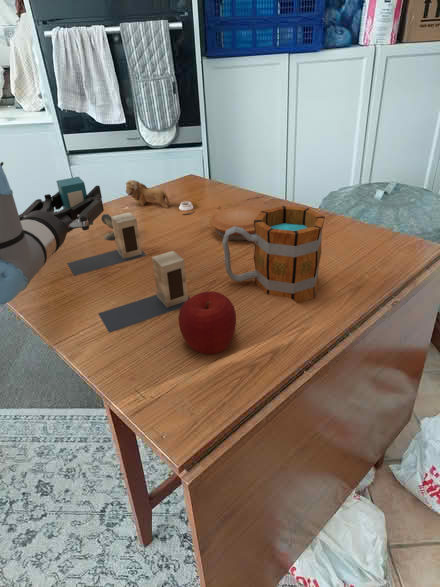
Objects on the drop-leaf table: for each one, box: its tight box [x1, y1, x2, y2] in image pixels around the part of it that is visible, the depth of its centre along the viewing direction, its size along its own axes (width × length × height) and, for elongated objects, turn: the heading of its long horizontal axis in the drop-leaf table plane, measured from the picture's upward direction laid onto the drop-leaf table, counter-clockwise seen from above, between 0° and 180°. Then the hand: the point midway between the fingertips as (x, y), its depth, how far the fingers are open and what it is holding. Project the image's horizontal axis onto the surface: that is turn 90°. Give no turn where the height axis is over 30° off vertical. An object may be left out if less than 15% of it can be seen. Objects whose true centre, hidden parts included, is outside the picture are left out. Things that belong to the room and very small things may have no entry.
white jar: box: [178, 200, 196, 216], centre depth 124 cm, size 5×3×5 cm
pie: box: [209, 206, 262, 242], centre depth 111 cm, size 15×16×5 cm
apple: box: [177, 291, 237, 355], centre depth 71 cm, size 10×10×10 cm
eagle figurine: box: [101, 213, 116, 241], centre depth 110 cm, size 8×7×9 cm
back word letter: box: [111, 211, 143, 259], centre depth 99 cm, size 5×4×9 cm
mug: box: [221, 205, 326, 304], centre depth 85 cm, size 20×14×15 cm
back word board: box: [66, 249, 147, 277], centre depth 100 cm, size 7×17×2 cm, turn 119°
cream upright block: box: [151, 250, 189, 308], centre depth 82 cm, size 5×4×9 cm
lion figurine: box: [125, 179, 172, 209], centre depth 125 cm, size 15×5×9 cm, turn 80°
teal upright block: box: [56, 176, 94, 230], centre depth 88 cm, size 5×4×9 cm
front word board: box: [97, 294, 190, 334], centre depth 82 cm, size 7×17×2 cm, turn 119°
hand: (83, 192), depth 92 cm, fingers closed on teal upright block, 6 cm apart
